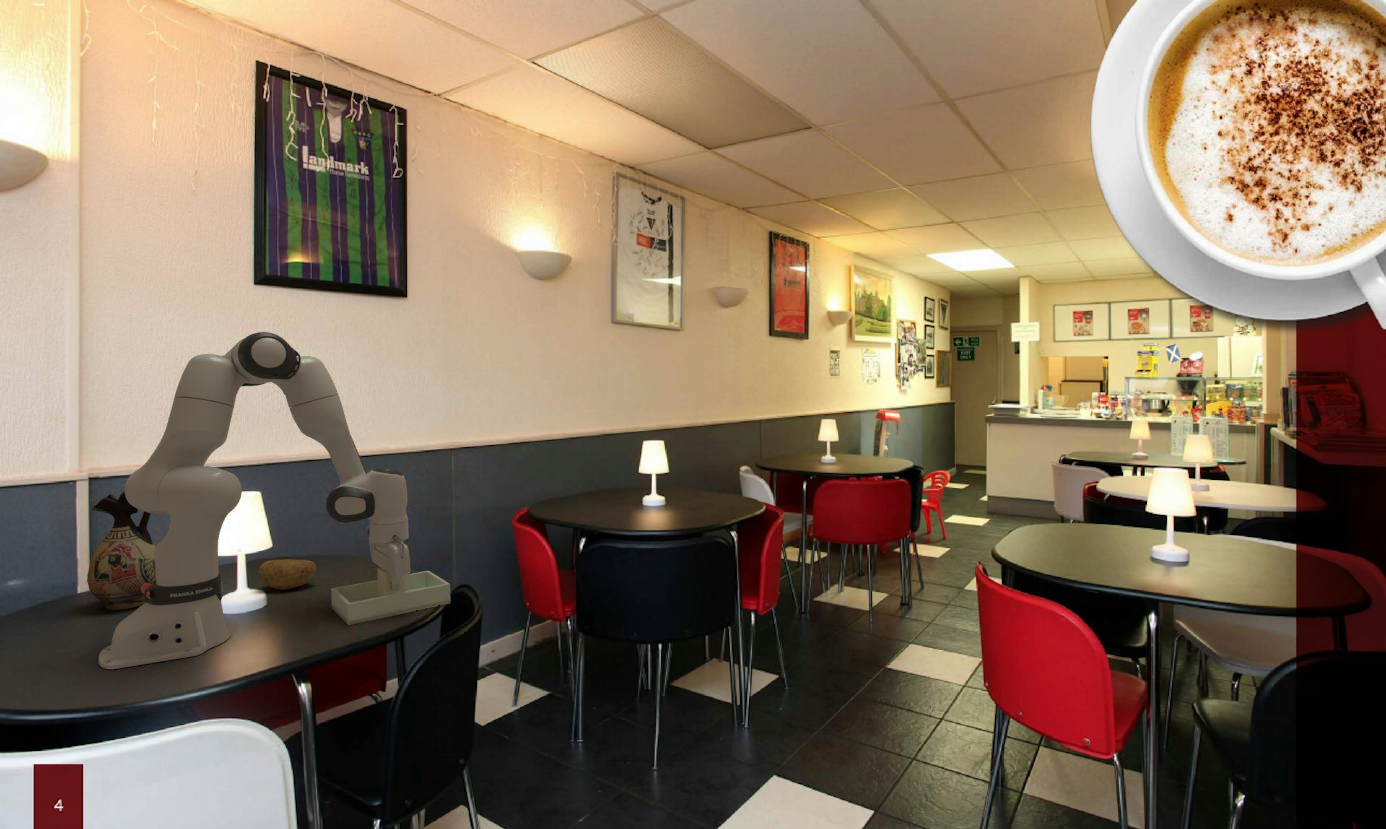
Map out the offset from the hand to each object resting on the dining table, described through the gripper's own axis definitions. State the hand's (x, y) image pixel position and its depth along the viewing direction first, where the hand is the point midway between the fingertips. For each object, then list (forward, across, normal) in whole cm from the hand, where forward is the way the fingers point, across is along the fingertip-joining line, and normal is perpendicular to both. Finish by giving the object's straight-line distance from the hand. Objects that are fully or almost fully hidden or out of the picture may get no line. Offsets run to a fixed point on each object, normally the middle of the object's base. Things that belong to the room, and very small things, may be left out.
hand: (390, 586), depth 176 cm
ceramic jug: (+5, +44, +50) cm, 67 cm away
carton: (+2, 0, 0) cm, 2 cm away
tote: (+5, 0, 0) cm, 5 cm away
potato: (+5, +33, +17) cm, 38 cm away
